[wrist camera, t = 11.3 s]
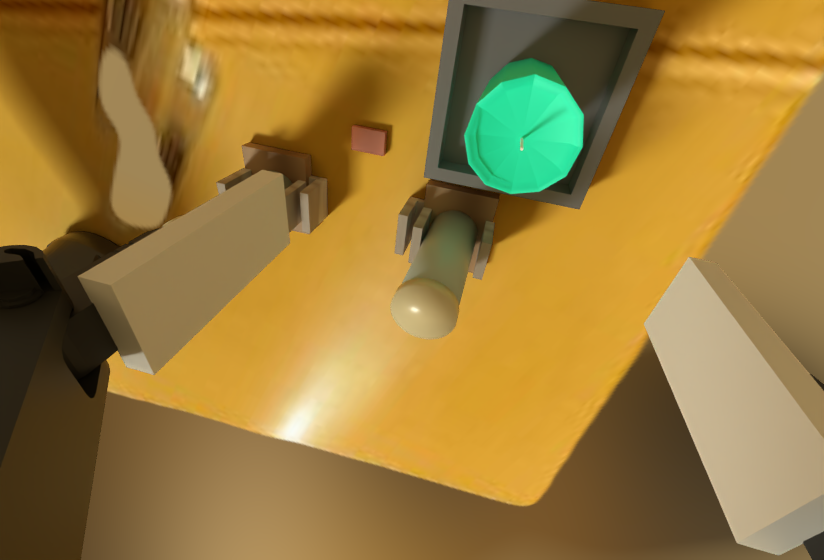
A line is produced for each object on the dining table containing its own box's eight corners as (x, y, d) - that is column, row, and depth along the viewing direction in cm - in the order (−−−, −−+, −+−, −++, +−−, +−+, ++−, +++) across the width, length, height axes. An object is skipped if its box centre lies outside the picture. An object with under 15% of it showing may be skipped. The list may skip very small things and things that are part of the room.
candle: (584, 92, 26) (620, 133, 16) (525, 161, 29) (526, 228, 20) (518, 37, 25) (515, 47, 15) (465, 115, 28) (437, 162, 19)
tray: (430, 166, 32) (423, 177, 30) (457, -15, 25) (451, -19, 23) (575, 195, 31) (579, 209, 29) (651, 11, 23) (664, 10, 21)
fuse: (425, 245, 36) (386, 326, 26) (435, 203, 33) (396, 277, 23) (470, 259, 35) (447, 347, 26) (485, 217, 32) (464, 299, 23)
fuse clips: (258, 216, 40) (228, 238, 36) (241, 102, 33) (201, 114, 29) (481, 268, 37) (476, 299, 33) (513, 155, 30) (511, 176, 26)
